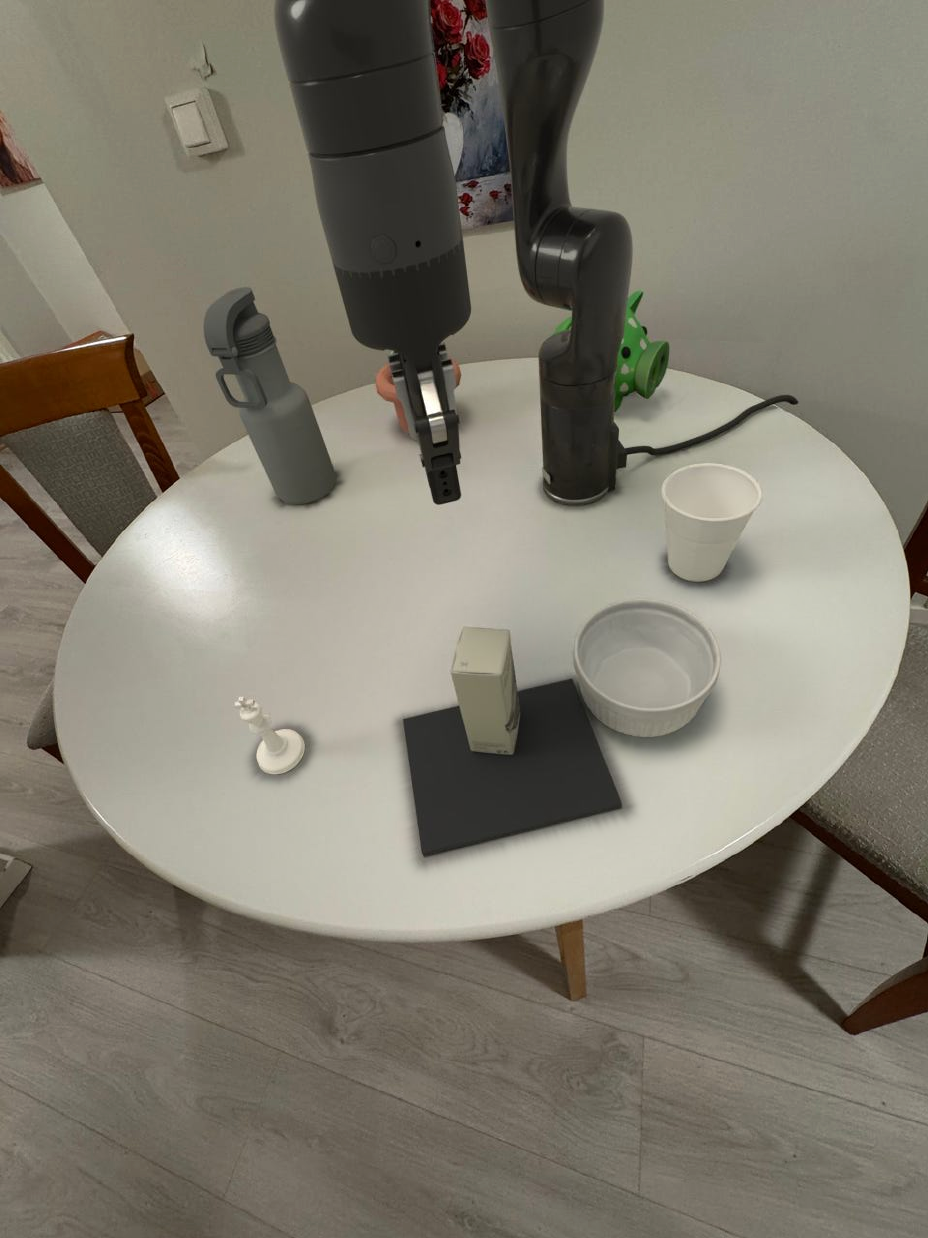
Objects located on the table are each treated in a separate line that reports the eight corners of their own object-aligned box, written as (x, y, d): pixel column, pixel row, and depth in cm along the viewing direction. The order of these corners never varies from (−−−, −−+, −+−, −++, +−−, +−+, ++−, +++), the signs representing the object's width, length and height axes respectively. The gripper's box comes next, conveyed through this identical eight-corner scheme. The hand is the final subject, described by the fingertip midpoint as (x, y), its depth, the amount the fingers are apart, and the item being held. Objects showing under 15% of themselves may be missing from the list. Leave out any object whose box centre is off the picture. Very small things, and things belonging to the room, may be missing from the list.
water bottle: (318, 511, 87) (238, 316, 66) (264, 505, 90) (172, 317, 69) (348, 471, 93) (283, 281, 72) (296, 466, 96) (220, 283, 75)
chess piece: (262, 735, 62) (219, 680, 54) (307, 728, 62) (271, 673, 54) (254, 778, 59) (208, 726, 51) (302, 771, 58) (263, 718, 51)
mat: (572, 682, 61) (572, 677, 60) (621, 807, 51) (622, 803, 51) (404, 723, 60) (402, 718, 60) (423, 856, 51) (421, 853, 50)
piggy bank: (637, 431, 89) (647, 332, 78) (532, 412, 97) (527, 319, 86) (669, 387, 97) (681, 290, 86) (568, 372, 105) (568, 282, 93)
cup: (745, 546, 70) (768, 469, 62) (732, 604, 65) (755, 527, 57) (661, 531, 74) (672, 457, 66) (642, 585, 68) (652, 511, 60)
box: (514, 757, 55) (502, 678, 46) (469, 752, 56) (448, 674, 47) (521, 710, 59) (511, 627, 49) (478, 706, 60) (461, 624, 50)
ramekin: (681, 773, 53) (693, 734, 48) (550, 716, 58) (548, 676, 53) (725, 667, 59) (740, 623, 54) (603, 625, 65) (606, 582, 60)
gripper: (486, 263, 28) (513, 536, 41) (441, 197, 37) (474, 437, 50) (335, 296, 28) (409, 560, 41) (326, 222, 37) (389, 457, 50)
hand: (445, 492), depth 45 cm, fingers closed
